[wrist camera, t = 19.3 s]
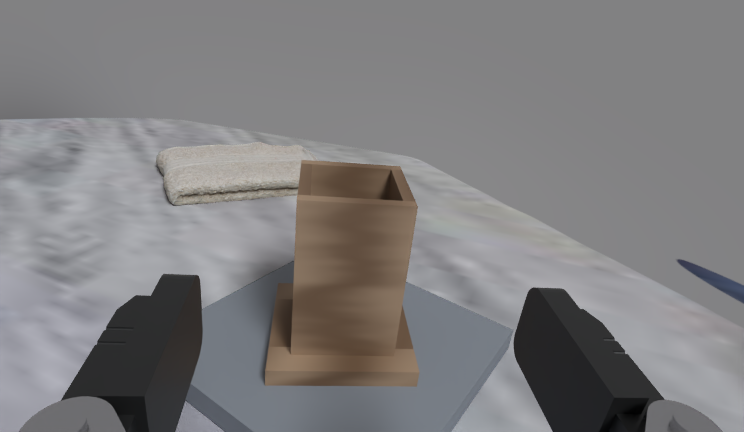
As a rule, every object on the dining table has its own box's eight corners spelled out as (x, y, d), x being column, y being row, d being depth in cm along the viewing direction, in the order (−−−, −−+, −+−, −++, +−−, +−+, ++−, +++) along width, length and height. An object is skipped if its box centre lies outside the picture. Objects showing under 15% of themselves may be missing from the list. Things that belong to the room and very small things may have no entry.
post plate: (140, 364, 27) (119, 204, 23) (322, 260, 39) (331, 144, 35) (371, 548, 19) (403, 359, 15) (508, 348, 32) (546, 213, 28)
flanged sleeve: (265, 385, 25) (267, 209, 20) (277, 295, 32) (281, 151, 28) (416, 386, 26) (448, 219, 21) (395, 299, 33) (416, 161, 29)
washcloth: (341, 196, 53) (343, 170, 52) (168, 213, 45) (165, 182, 44) (305, 161, 63) (306, 139, 61) (156, 170, 55) (154, 144, 53)
